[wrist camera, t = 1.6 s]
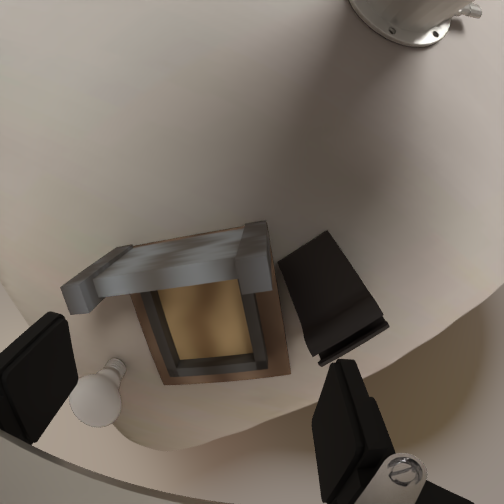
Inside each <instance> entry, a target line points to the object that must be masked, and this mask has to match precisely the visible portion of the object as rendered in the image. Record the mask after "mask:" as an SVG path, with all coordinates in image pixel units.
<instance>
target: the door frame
mask: <svg viewBox="0 0 504 504" xmlns="http://www.w3.org/2000/svg"><path fill="white" fill-rule="evenodd" d="M60 288H61V291H62V294H63V296H64V299H65V302H66V304H67V307H68V310H69V312H70V315H74V314H85V313H90V312H91V311H92V310H93V309H94V308H95V307H96V306H97V305H98V304H99V303H100V302H101V301H102V300H103V299H104V298H105V297H109V296H117V295H125V294H130V295H131V298H132V301H133V304H134V307H135V310H136V313H137V316H138V319H139V322H140V325H141V327H142V330H143V333H144V336H145V338H146V341H147V344H148V346H149V349H150V352H151V354H152V357H153V359H154V362H155V364H156V367H157V369H158V372H159V374H160V377H161V379H162V381H163V384H164V385H181V384H200V383H215V382H227V381H238V380H248V379H257V378H266V377H274V376H281V375H289V374H291V370H290V363H289V357H288V350H287V344H286V337H285V331H284V324H283V318H282V312H281V306H280V299H279V293H278V287H277V281H276V275H275V269H274V263H273V257H272V251H271V245H270V239H269V233H268V227H267V222H266V221H260V222H254V223H248V224H245V226H242V227H236V228H230V229H225V230H219V231H213V232H207V233H202V234H196V235H190V236H185V237H179V238H174V239H168V240H163V241H158V242H152V243H147V244H142V245H136V246H133V245H127V246H122V247H116V248H115V249H113V250H112V251H110V252H109V253H108V254H106V255H105V256H103V257H102V258H100V259H99V260H97V261H96V262H95V263H93V264H92V265H90V266H89V267H87V268H86V269H85V270H83V271H82V272H80V273H79V274H78V275H76V276H75V277H74V278H72V279H71V280H69V281H68V282H67V283H65V284H64V285H63V286H61V287H60Z"/></svg>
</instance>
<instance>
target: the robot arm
mask: <svg viewBox="0 0 504 504" xmlns="http://www.w3.org/2000/svg"><path fill="white" fill-rule="evenodd" d="M473 1H475V0H349V2H350V4H351V6H352V7H353V9H354V10H355V12H356V13H357V14H358V16H359V17H360V18H361V19H362V20H363V21H364V22H365V23H366V24H367V25H368V26H369V27H371V28H372V29H373V30H374V31H376V32H377V33H379V34H380V35H382V36H383V37H385V38H387V39H389V40H391V41H393V42H396V43H399V44H402V45H405V46H411V47H425V46H429V45H432V44H434V43H436V42H438V41H439V40H441V39H442V38H443V37H444V36H445V35H446V33H447V32H448V30H449V27H450V20H451V17H453V16H460V15H461V14H462V15H465V16H469V17H474V18H478V19H479V18H480V17H481V15H482V11H481V8H480V6H479V5H477V4H474V3H472V2H473ZM77 383H78V373H77V369H76V364H75V359H74V354H73V349H72V344H71V338H70V332H69V326H68V322H67V320H65V317H64V316H63V315H62V314H58V313H54V312H47V313H46V314H45V315H44V316H43V317H41V318H40V319H39V320H38V321H37V322H35V323H34V324H33V325H32V326H31V327H30V328H28V329H27V330H26V331H25V332H24V333H23V334H21V336H19V337H18V338H17V339H16V340H15V341H14V342H13V343H11V344H10V345H9V346H8V347H7V348H6V349H5V350H3V352H1V353H0V504H231V503H223V502H216V501H208V500H202V499H196V498H190V497H186V496H180V495H175V494H171V493H166V492H162V491H158V490H153V489H149V488H145V487H142V486H138V485H134V484H131V483H127V482H124V481H120V480H117V479H114V478H111V477H108V476H105V475H102V474H99V473H96V472H93V471H91V470H88V469H85V468H82V467H80V466H77V465H75V464H72V463H69V462H67V461H65V460H62V459H60V458H58V457H55V456H53V455H51V454H48V453H46V452H44V451H42V450H40V449H38V448H35V447H34V446H32V444H33V443H35V442H37V441H38V440H39V438H40V437H41V435H42V434H43V432H44V431H45V429H46V428H47V426H48V425H49V423H50V422H51V420H52V419H53V417H54V416H55V415H56V413H57V412H58V410H59V409H60V407H61V406H62V405H63V403H64V402H65V400H66V399H67V398H68V396H69V395H70V394H71V392H72V391H73V389H74V388H75V387H76V385H77ZM312 432H313V439H314V445H315V453H316V460H317V466H318V475H319V483H320V491H321V498H322V502H323V503H327V504H474V503H473V502H471V501H469V500H467V499H465V498H463V497H461V496H459V495H456V494H454V493H452V492H450V491H448V490H446V489H444V488H441V487H439V486H437V485H435V484H433V483H431V482H429V481H427V480H426V479H427V469H426V467H425V465H424V463H423V462H422V461H421V460H420V459H418V458H417V457H415V456H413V455H410V454H407V453H398V454H396V453H395V450H394V447H393V445H392V442H391V439H390V437H389V434H388V431H387V429H386V426H385V423H384V421H383V418H382V416H381V413H380V411H379V408H378V405H377V403H376V401H375V399H374V398H373V397H369V395H368V392H367V390H366V387H365V385H364V382H363V379H362V377H361V374H360V372H359V369H358V367H357V364H356V362H355V360H350V359H337V361H336V363H331V365H330V367H329V370H328V374H327V377H326V380H325V383H324V386H323V389H322V392H321V395H320V398H319V401H318V404H317V406H316V409H315V412H314V415H313V418H312Z"/></svg>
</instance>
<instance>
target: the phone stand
mask: <svg viewBox="0 0 504 504" xmlns="http://www.w3.org/2000/svg"><path fill="white" fill-rule="evenodd" d="M278 264H279V267H280V270H281V272H282V275H283V277H284V280H285V283H286V285H287V288H288V291H289V293H290V296H291V299H292V301H293V304H294V306H295V309H296V312H297V314H298V317H299V320H300V322H301V325H302V328H303V333H304V340H305V343H306V345H307V347H308V349H309V351H310V353H311V355H312V356H313V357H314V356H315V355H317V354H319V356H320V359H321V360H320V361H319V362H318V364H319V366H321V367H323V366H325V365H326V364H328V363H330V362H332V361H334V360H335V359H337V358H339V357H341V356H343V355H344V354H346V353H348V352H350V351H351V350H353V349H355V348H356V347H358V346H360V345H361V344H363V343H365V342H366V341H368V340H370V339H371V338H373V337H375V336H376V335H378V334H379V333H381V332H383V331H384V330H386V329H387V328H389V327H390V326H389V324H388V322H387V321H385V319H384V318H383V313H382V311H381V309H380V308H379V306H378V304H377V303H376V301H375V300H374V298H373V297H372V295H371V294H370V292H369V291H368V290H367V288H366V287H365V285H364V284H363V282H362V280H361V279H360V277H359V276H358V274H357V273H356V271H355V270H354V268H353V267H352V265H351V264H350V262H349V261H348V259H347V258H346V256H345V255H344V254H343V252H342V251H341V249H340V248H339V246H338V245H337V243H336V242H335V240H334V239H333V238H332V236H331V235H330V233H329V232H328V230H327V231H326V232H324V233H322V234H321V235H319V236H318V237H316V238H315V239H313V240H312V241H310V242H309V243H307V244H305V245H304V246H302V247H301V248H299V249H298V250H296V251H294V252H293V253H291V254H290V255H288V256H287V257H285V258H284V259H282V260H280V261H279V262H278Z"/></svg>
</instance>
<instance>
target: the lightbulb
mask: <svg viewBox="0 0 504 504" xmlns="http://www.w3.org/2000/svg"><path fill="white" fill-rule="evenodd" d="M125 372H126V366H125V365H124V363H123V362H122V361H120V360H119V359H116V358H112V359H110V360H109V361H108V362H107V364H106V365H105V367H104V368H103V369H102V370H100V371H98V372H97V373H96V374H89V375H85V376H82V377H80V378H79V379H78V383H77V385H76V387H75V388H74V389H73V391H72V392H71V394H70V395H69V402H70V406H71V409H72V411H73V413H74V414H75V416H76V417H77V418H78V419H79V420H80V421H81V422H83V423H84V424H86V425H89V426H92V427H105V426H108V425H110V424H112V423H113V422H114V421H115V420H116V419H117V418H118V416H119V414H120V412H121V407H122V400H121V395H120V392H119V388H120V381H121V379H122V377H123V375H124V374H125Z"/></svg>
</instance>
